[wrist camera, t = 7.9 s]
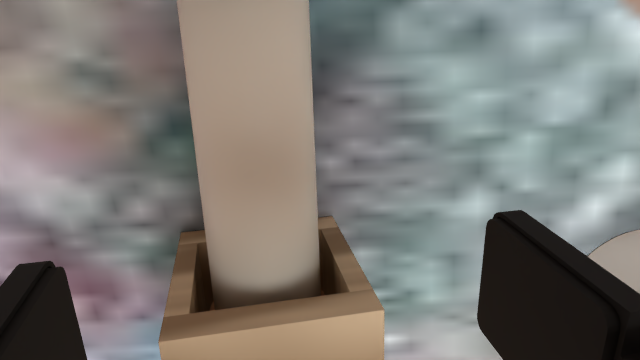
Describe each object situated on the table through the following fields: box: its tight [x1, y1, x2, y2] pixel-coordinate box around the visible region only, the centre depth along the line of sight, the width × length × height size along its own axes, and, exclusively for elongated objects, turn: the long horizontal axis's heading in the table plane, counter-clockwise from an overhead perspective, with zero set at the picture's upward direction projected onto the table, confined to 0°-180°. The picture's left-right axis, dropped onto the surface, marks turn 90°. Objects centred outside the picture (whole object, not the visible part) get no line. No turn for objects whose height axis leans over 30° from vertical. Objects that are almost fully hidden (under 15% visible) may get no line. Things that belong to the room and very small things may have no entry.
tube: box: [177, 0, 325, 311], centre depth 17 cm, size 15×5×5 cm, turn 2°
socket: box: [158, 216, 384, 360], centre depth 20 cm, size 6×7×8 cm
